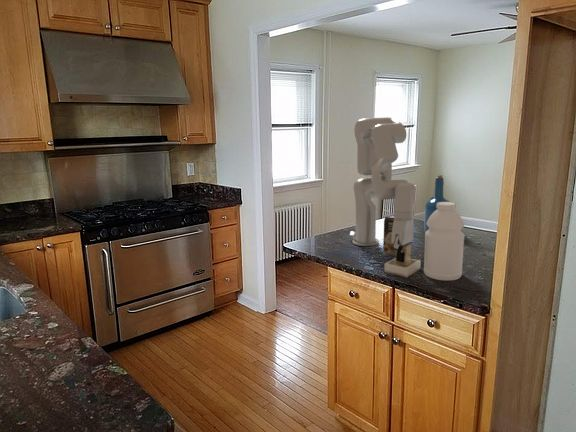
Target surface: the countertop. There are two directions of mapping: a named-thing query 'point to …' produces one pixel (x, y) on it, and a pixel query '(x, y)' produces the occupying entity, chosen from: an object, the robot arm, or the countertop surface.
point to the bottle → (444, 243)
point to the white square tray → (402, 268)
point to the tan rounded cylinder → (407, 256)
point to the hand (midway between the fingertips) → (402, 259)
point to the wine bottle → (434, 200)
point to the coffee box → (388, 237)
